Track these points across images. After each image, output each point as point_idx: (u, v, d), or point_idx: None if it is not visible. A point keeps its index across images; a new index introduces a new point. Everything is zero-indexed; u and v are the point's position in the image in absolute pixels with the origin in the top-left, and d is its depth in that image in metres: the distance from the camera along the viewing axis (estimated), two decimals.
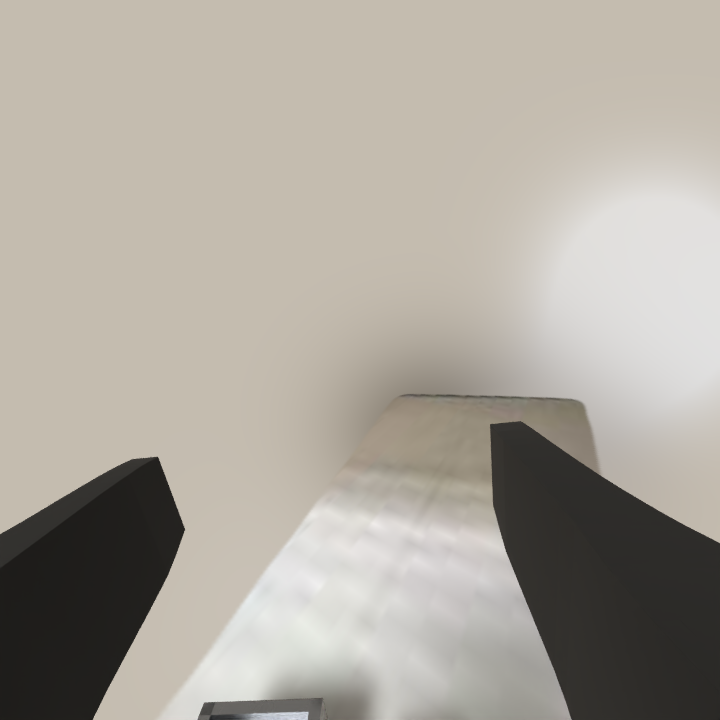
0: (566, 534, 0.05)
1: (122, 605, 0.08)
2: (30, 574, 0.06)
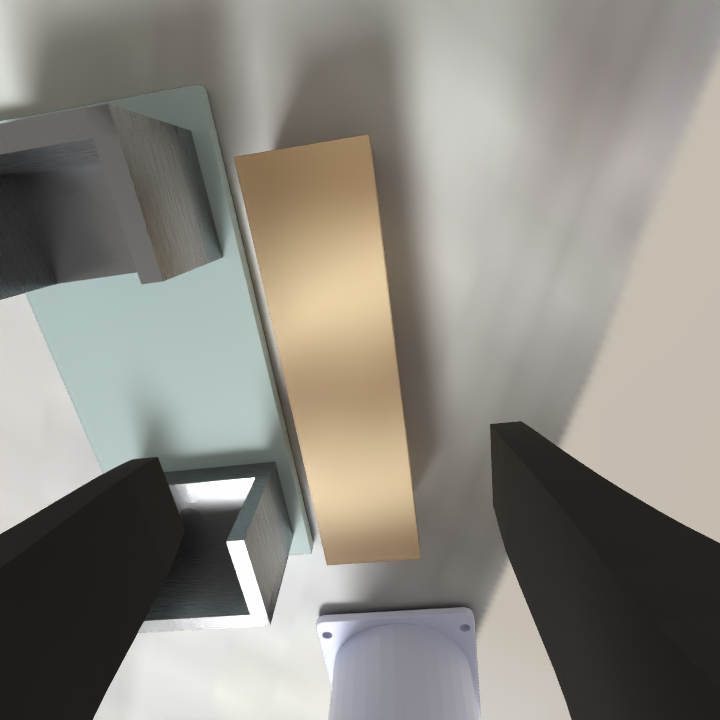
0: (566, 534, 0.05)
1: (123, 606, 0.08)
2: (30, 574, 0.06)
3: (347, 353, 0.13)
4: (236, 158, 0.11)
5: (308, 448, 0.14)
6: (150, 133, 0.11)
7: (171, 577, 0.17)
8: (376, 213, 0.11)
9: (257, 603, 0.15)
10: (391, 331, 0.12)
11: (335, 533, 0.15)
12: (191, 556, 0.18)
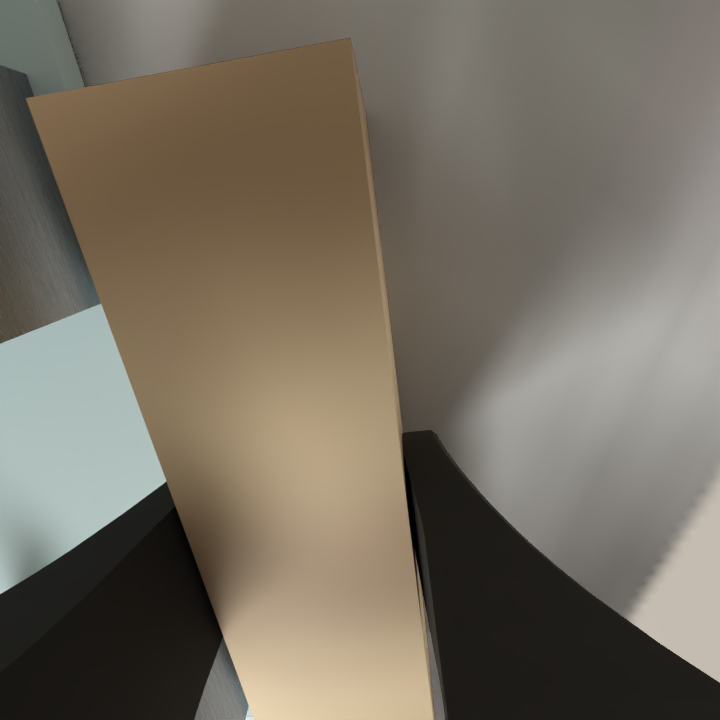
0: (424, 544, 0.05)
1: None
2: (145, 566, 0.06)
3: (312, 509, 0.06)
4: (33, 101, 0.05)
5: (245, 656, 0.08)
6: None
7: None
8: (370, 235, 0.05)
9: None
10: (400, 473, 0.06)
11: None
12: None
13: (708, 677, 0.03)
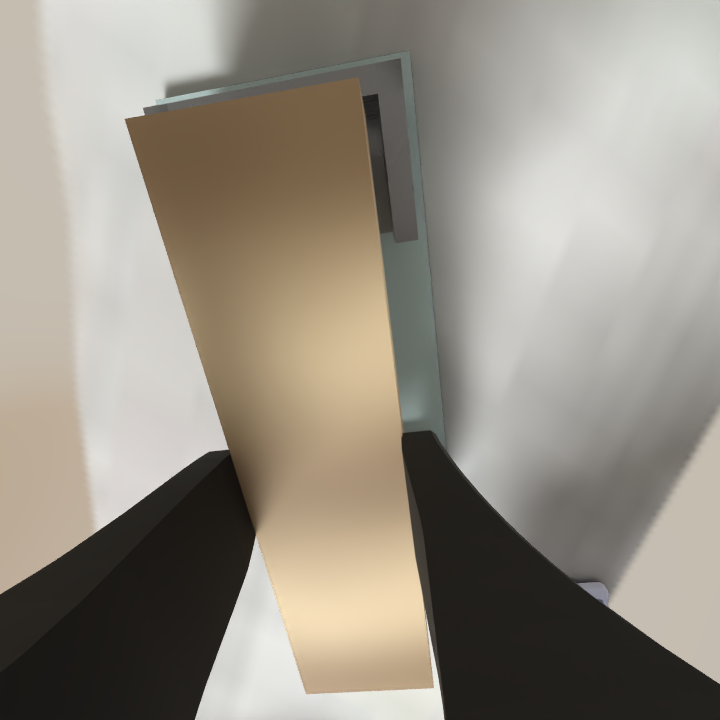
0: (423, 544, 0.05)
1: (215, 600, 0.08)
2: (145, 566, 0.06)
3: (328, 431, 0.08)
4: (129, 121, 0.06)
5: (274, 556, 0.10)
6: None
7: None
8: (372, 217, 0.07)
9: None
10: (396, 399, 0.08)
11: (316, 657, 0.11)
12: None
13: (706, 677, 0.03)
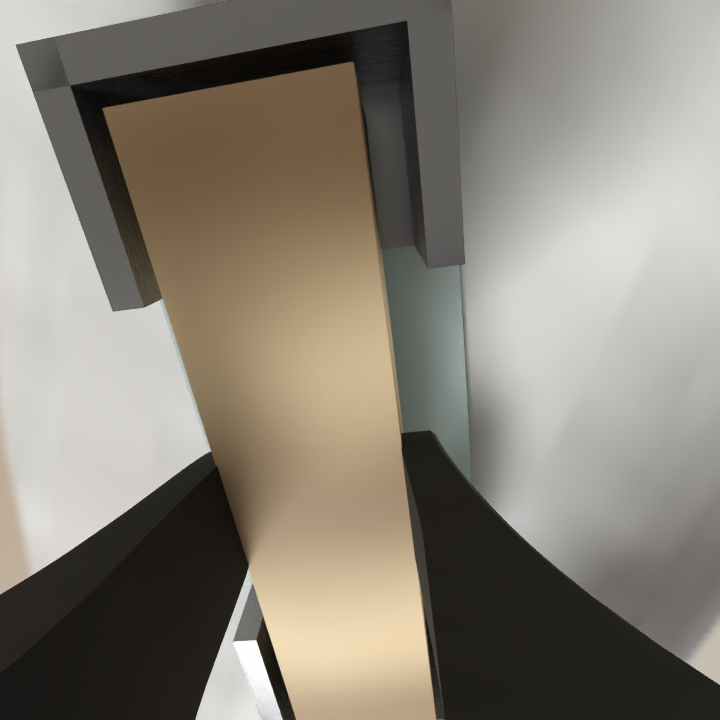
0: (422, 544, 0.05)
1: (215, 600, 0.08)
2: (145, 566, 0.06)
3: (322, 446, 0.08)
4: (107, 111, 0.06)
5: (264, 580, 0.09)
6: None
7: None
8: (369, 213, 0.06)
9: None
10: (395, 413, 0.07)
11: (309, 690, 0.10)
12: None
13: (704, 677, 0.03)
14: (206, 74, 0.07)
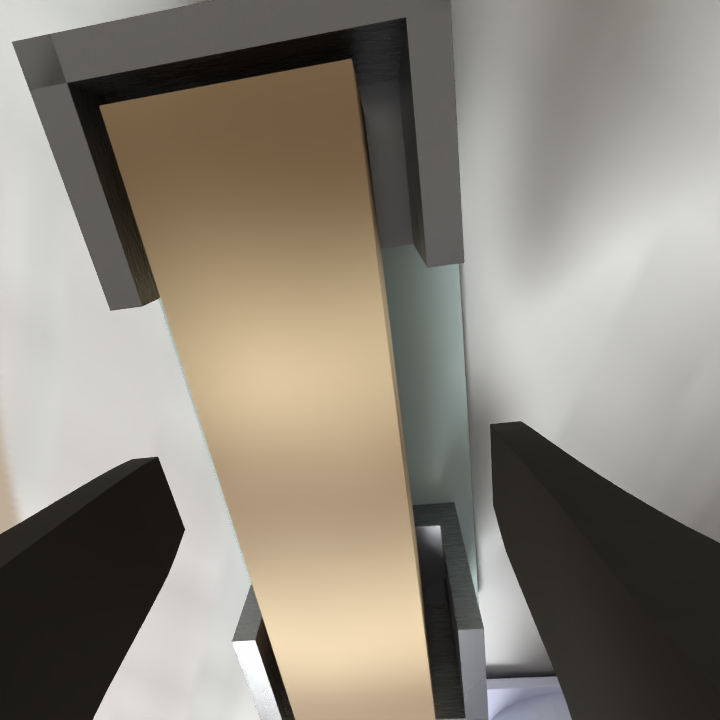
0: (566, 534, 0.05)
1: (123, 605, 0.08)
2: (29, 574, 0.06)
3: (321, 445, 0.08)
4: (104, 108, 0.06)
5: (263, 580, 0.09)
6: None
7: None
8: (367, 212, 0.06)
9: (479, 705, 0.11)
10: (394, 412, 0.07)
11: (309, 690, 0.10)
12: None
13: None
14: (204, 71, 0.07)
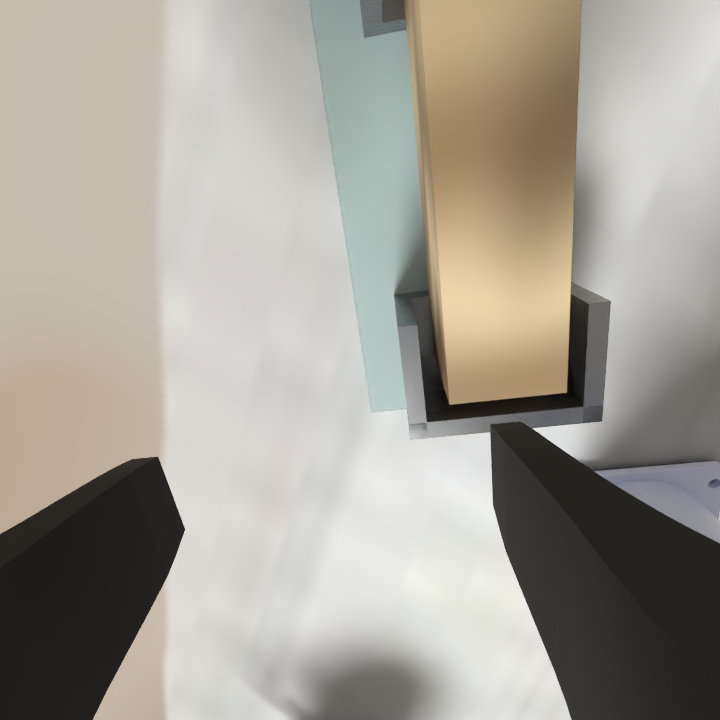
0: (566, 534, 0.05)
1: (123, 605, 0.08)
2: (30, 574, 0.06)
3: (516, 81, 0.10)
4: None
5: (447, 232, 0.11)
6: None
7: None
8: None
9: (596, 391, 0.13)
10: (578, 44, 0.10)
11: (465, 357, 0.12)
12: None
13: None
14: None
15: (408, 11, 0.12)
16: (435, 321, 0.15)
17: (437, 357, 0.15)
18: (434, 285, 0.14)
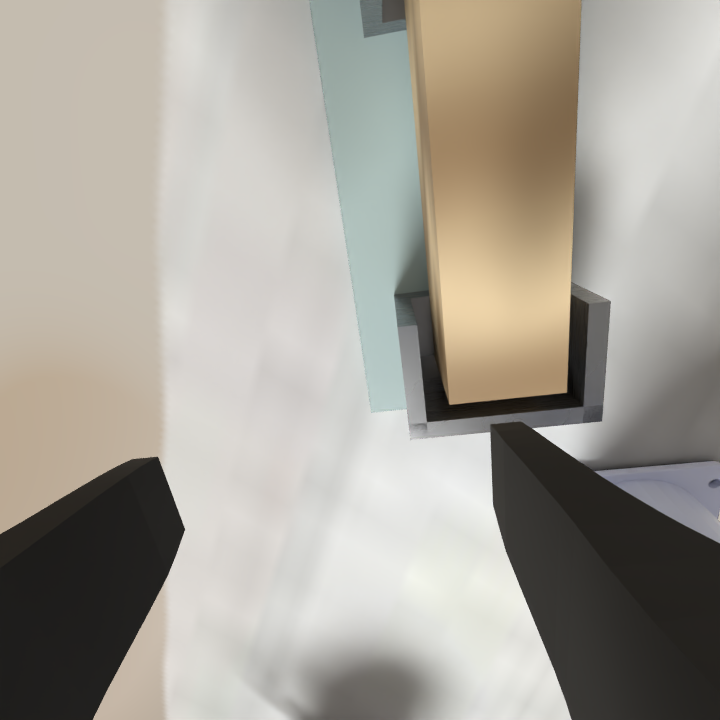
0: (566, 534, 0.05)
1: (123, 605, 0.08)
2: (30, 574, 0.06)
3: (516, 81, 0.10)
4: None
5: (447, 232, 0.11)
6: None
7: None
8: None
9: (596, 391, 0.13)
10: (578, 44, 0.10)
11: (465, 357, 0.12)
12: None
13: None
14: None
15: (408, 11, 0.12)
16: (435, 321, 0.15)
17: (437, 357, 0.15)
18: (434, 285, 0.14)
